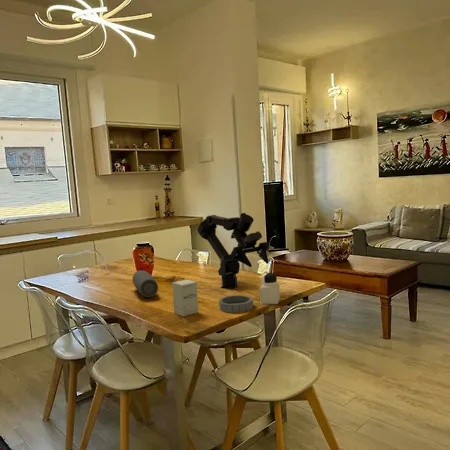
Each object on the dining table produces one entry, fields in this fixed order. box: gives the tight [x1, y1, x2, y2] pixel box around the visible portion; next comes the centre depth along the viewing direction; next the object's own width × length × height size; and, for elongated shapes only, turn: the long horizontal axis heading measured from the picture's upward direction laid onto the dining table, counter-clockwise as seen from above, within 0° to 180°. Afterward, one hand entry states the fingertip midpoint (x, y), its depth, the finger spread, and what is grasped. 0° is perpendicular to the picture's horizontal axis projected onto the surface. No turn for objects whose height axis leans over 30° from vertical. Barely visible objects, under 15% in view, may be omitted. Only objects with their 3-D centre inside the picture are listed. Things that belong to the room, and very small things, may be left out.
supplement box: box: [171, 279, 199, 317], centre depth 171 cm, size 7×7×13 cm
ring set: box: [76, 261, 111, 284], centre depth 247 cm, size 25×12×12 cm, turn 144°
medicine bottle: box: [259, 272, 281, 305], centre depth 180 cm, size 7×7×12 cm
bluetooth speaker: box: [132, 269, 159, 298], centre depth 205 cm, size 23×9×10 cm, turn 21°
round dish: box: [218, 294, 254, 314], centre depth 175 cm, size 14×14×3 cm
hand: (259, 264), depth 186 cm, fingers open, 9 cm apart
